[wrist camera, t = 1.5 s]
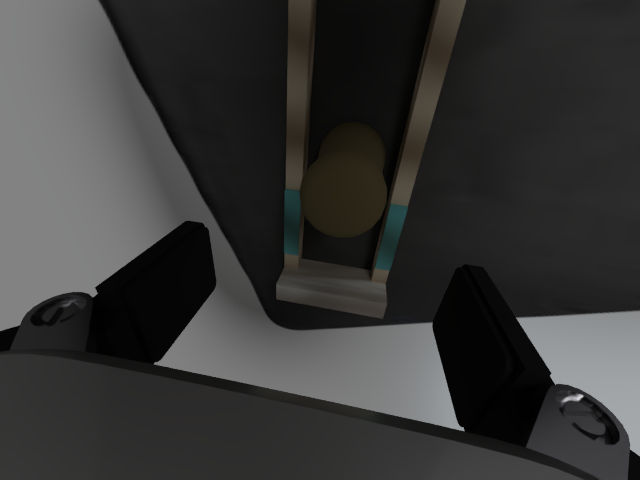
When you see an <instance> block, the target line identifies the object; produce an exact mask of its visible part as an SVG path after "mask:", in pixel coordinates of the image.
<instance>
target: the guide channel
mask: <svg viewBox="0 0 640 480" xmlns="http://www.w3.org/2000/svg"><path fill="white" fill-rule="evenodd" d="M465 3H466V0H435V4H434V9H433V13H432V17H431V21H430V25H429V30H428V34H427V38H426V42H425V46H424V51H423V55H422V59H421V63H420V67H419V72H418V76H417V80H416V84H415V88H414V92H413V97H412V101H411V105H410V109H409V113H408V118H407V122H406V126H405V130H404V134H403V139H402V143H401V147H400V151H399V155H398V160H397V164H396V168H395V172H394V176H393V181H392V185H391V189H390V193H389V197H388V202H387V206H386V210H385V214H384V218H383V223H382V227H381V231H380V235H379V239H378V244H377V248H376V252H375V256H374V260H373V265H372V269H371V270H368V269H362V268H356V267H350V266H344V265H338V264H332V263H326V262H319V261H313V260H307V259H302V247H303V230H304V213H303V211H302V209H301V203H300V195H299V192H300V187H301V182H302V178H303V177H304V175H305V173H306V172H307V161H308V144H309V127H310V110H311V93H312V76H313V58H314V41H315V24H316V7H317V0H289V3H288V68H287V134H286V189H285V209H284V253H285V264H284V269H283V271H282V273H281V275H280V278H279V280H278V282H277V284H276V299H278V300H283V301H289V302H294V303H300V304H305V305H311V306H316V307H322V308H327V309H333V310H338V311H344V312H349V313H355V314H360V315H366V316H371V317H377V318H382V319H383V316H384V313H385V309H386V306H387V297H386V280H387V277H388V273H389V271H390V269H391V265H392V262H393V258H394V255H395V251H396V248H397V244H398V241H399V237H400V234H401V231H402V227H403V224H404V220H405V217H406V213H407V210H408V203H409V200H410V196H411V193H412V189H413V186H414V182H415V179H416V175H417V172H418V168H419V165H420V161H421V158H422V154H423V151H424V147H425V144H426V140H427V137H428V133H429V130H430V126H431V123H432V119H433V116H434V112H435V109H436V105H437V102H438V98H439V95H440V91H441V88H442V84H443V81H444V77H445V74H446V70H447V67H448V63H449V59H450V56H451V52H452V49H453V45H454V42H455V38H456V35H457V31H458V28H459V24H460V21H461V17H462V14H463V10H464V7H465Z"/></svg>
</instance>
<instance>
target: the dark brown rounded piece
mask: <svg viewBox="0 0 640 480" xmlns="http://www.w3.org/2000/svg"><path fill="white" fill-rule="evenodd" d="M385 162H386V149H385V146H384V142H383V140H382V138H381V137H380V135H379V134H378V132H377V131H376V130H374V129H373V128H372V127H370V126H369V125H367V124H364V123H360V122H345V123H342V124H340V125H338V126H335V127H334V128H333V129H332V130H331V131H329V132H328V133H327V134H326V136H325V138H324V139H323V141H322V143H321V145H320V150H319V154H318V159H317V160H316V161H315V162H314V163H313V164H312V165H310V167H309V168H308V170H307V172H306V173H305V175H304V177H303V178H302V182H301V187H300V192H299V195H300V203H301V209H302V211H303V213H304V215H305V217H306V219H307V220H308V221H309V222H310V223H311V224H312V226H313V227H314V228H316V229H317V230H319V231H321V232H322V233H324V234H326V235H329V236H333V237H336V238H350V237H354V236H357V235H361V234H363V233H364V232H366V231H368V230H369V229H371V228H372V227H373V226H374V225H375V224H376V222H377V221H378V220H379V219H380V217H381V216H382V213H383V211H384V208H385V206H386V203H387V187H386V183H385V180H384V177H383V173H382V171H383V168H384V165H385Z"/></svg>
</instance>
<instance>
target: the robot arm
mask: <svg viewBox="0 0 640 480" xmlns="http://www.w3.org/2000/svg"><path fill="white" fill-rule="evenodd" d="M215 286H216V276H215V269H214V263H213V256H212V250H211V243H210V236H209V230H208V228H206V227H205V226H204V224H203V223H199V222H193V221H185V222H184V223H182V224H181V225H180V226H178V227H177V228H176V229H174V230H173V231H172V232H170V233H169V234H167V235H166V236H165V237H163V238H162V239H161V240H159V241H158V242H157V243H155V244H154V245H153V246H151V247H150V248H148V249H147V250H146V251H144V252H143V253H142V254H140V255H139V256H137V257H136V258H135V259H133V260H132V261H131V262H129V263H128V264H127V265H125V266H124V267H122V268H121V269H120V270H118V271H117V272H116V273H114V274H113V275H112V276H110V277H109V278H107V279H106V280H105V281H103V282H102V283H101V284H99V285H98V286H97V287H95V288H96V290H97V293H98V294H97V295H96V296H95V297H93V298H92V297H91V296H90V295H89V294H87V293H83V292H72V293H66V294H61V295H58V296H55V297H52V298H50V299H47V300H45V301H43V302H41V303H40V304H38V305H36V306H35V307H33V308H32V309H31V310H30V311H29V312H28V313H27V314H26V315H25V316H24V318H23V320H22V322H21V324H20V326H17V327H13V328H10V329H6V330H3V331H0V480H640V456H638V455H637V454H635V453H634V452H633V451H631V450H630V442H629V437H628V434H627V432H626V431H625V429H624V427H623V425H622V424H621V423H620V421H619V420H618V419H617V418H616V416H615V415H614V414H613V413H612V412H611V411H610V410H609V409H608V408H606V407H605V406H604V405H603V404H602V403H601V402H599V401H598V400H596V399H595V398H593V397H592V396H591V395H589V394H587V393H585V392H583V391H582V390H580V389H578V388H574V387H572V386H569V385H563V384H556V385H555V384H554V382H553V381H552V379H551V377H550V374H551V372H550V371H549V369H548V368H547V366H546V364H545V363H544V361H543V360H542V358H541V357H540V355H539V353H538V352H537V350H536V349H535V347H534V346H533V344H532V342H531V341H530V339H529V338H528V336H527V335H526V333H525V332H524V330H523V328H522V327H521V325H520V324H519V322H518V321H517V319H516V317H515V316H514V314H513V313H512V311H511V310H510V308H509V306H508V305H507V303H506V302H505V300H504V299H503V297H502V296H501V294H500V292H499V291H498V289H497V288H496V286H495V285H494V283H493V282H492V280H491V278H490V277H489V275H488V274H487V272H486V271H485V269H484V268H483V267H479V266H473V265H466V264H465V265H463V266H462V267H461V268H459V267H458V268H457V269H456V270H455V272H454V275H453V277H452V279H451V281H450V284H449V286H448V288H447V290H446V293H445V295H444V297H443V299H442V302H441V304H440V306H439V308H438V311H437V313H436V315H435V317H434V320H433V332H434V336H435V339H436V343H437V347H438V351H439V354H440V358H441V362H442V365H443V370H444V373H445V377H446V381H447V384H448V388H449V392H450V396H451V400H452V403H453V407H454V410H455V414H456V418H457V421H458V424H459V425H460V426H461V427H464V430H465V432H464V431H459V430H456V429H451V428H447V427H443V426H439V425H434V424H430V423H425V422H420V421H416V420H412V419H407V418H402V417H398V416H394V415H389V414H384V413H380V412H375V411H371V410H366V409H362V408H357V407H352V406H348V405H343V404H339V403H334V402H329V401H325V400H320V399H315V398H310V397H306V396H301V395H297V394H291V393H287V392H283V391H278V390H273V389H269V388H263V387H259V386H254V385H249V384H245V383H240V382H236V381H230V380H226V379H221V378H216V377H211V376H207V375H202V374H197V373H192V372H187V371H183V370H178V369H173V368H168V367H163V366H158V365H154V363H155V362H158V361H159V360H161V359H162V358H163V356H164V355H165V353H166V352H167V351H168V349H169V348H170V347H171V346H172V344H173V343H174V342H175V340H176V339H177V338H178V336H179V335H180V334H181V332H182V331H183V330H184V329H185V327H186V326H187V325H188V323H189V322H190V321H191V319H192V318H193V317H194V315H195V314H196V313H197V311H198V310H199V309H200V307H201V306H202V305H203V303H204V302H205V301H206V300H207V298H208V297H209V296H210V294H211V293H212V292H213V291H214V289H215Z"/></svg>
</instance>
